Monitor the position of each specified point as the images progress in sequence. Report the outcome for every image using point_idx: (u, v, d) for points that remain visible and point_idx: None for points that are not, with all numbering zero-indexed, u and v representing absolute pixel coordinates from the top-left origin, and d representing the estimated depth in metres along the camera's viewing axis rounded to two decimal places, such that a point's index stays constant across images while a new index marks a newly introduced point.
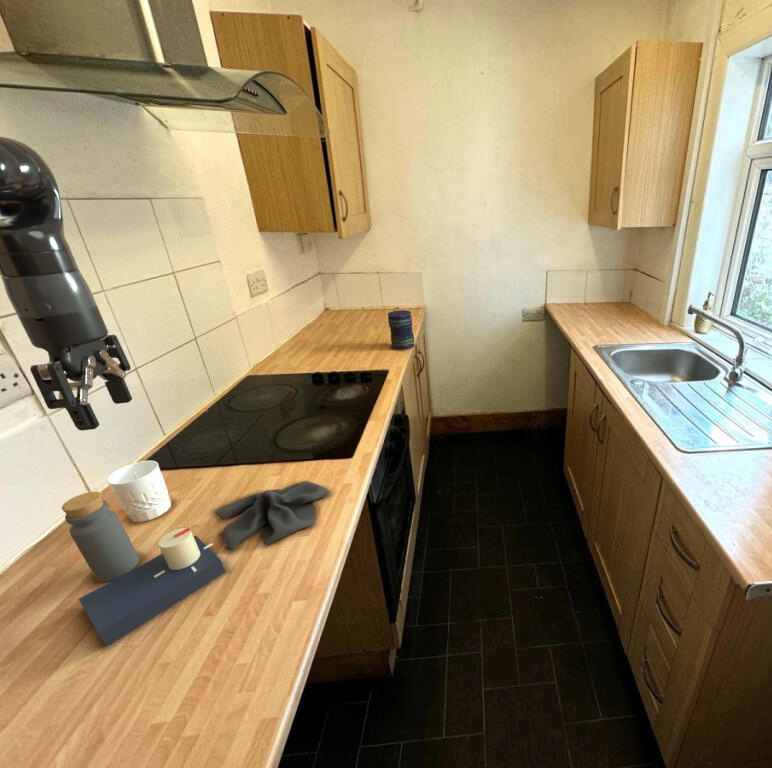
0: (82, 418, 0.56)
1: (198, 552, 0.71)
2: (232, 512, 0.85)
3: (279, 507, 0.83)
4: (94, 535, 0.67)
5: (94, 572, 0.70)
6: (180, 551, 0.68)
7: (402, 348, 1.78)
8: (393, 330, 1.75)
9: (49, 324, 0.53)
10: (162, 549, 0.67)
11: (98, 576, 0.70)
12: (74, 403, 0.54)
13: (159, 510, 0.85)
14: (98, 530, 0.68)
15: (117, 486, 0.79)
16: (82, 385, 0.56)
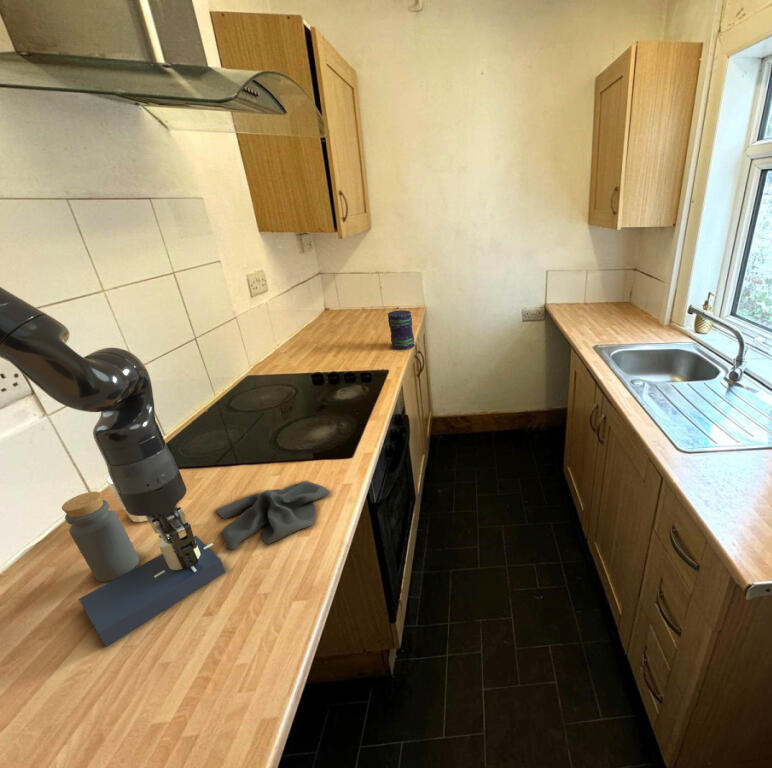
0: (192, 557, 0.69)
1: (198, 552, 0.71)
2: (232, 512, 0.85)
3: (279, 507, 0.83)
4: (94, 535, 0.67)
5: (94, 572, 0.70)
6: None
7: (402, 348, 1.78)
8: (393, 330, 1.75)
9: (165, 490, 0.63)
10: (162, 549, 0.67)
11: (98, 576, 0.70)
12: (196, 544, 0.67)
13: None
14: (98, 530, 0.68)
15: None
16: None
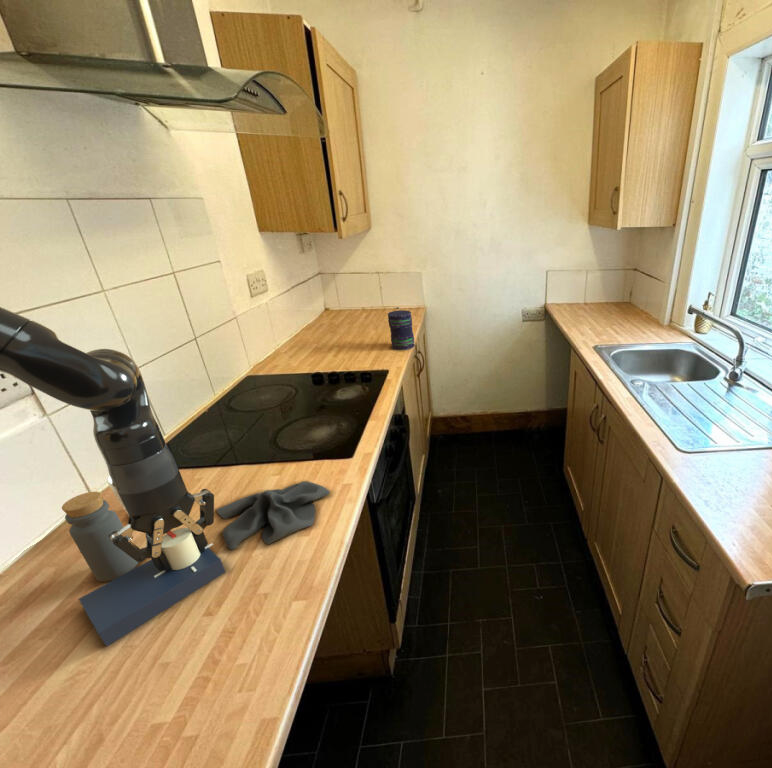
0: None
1: None
2: (232, 512, 0.85)
3: (279, 507, 0.83)
4: (94, 535, 0.67)
5: (94, 572, 0.70)
6: (193, 537, 0.71)
7: (402, 348, 1.78)
8: (393, 330, 1.75)
9: None
10: (186, 542, 0.69)
11: (98, 576, 0.70)
12: None
13: None
14: (98, 530, 0.68)
15: None
16: None
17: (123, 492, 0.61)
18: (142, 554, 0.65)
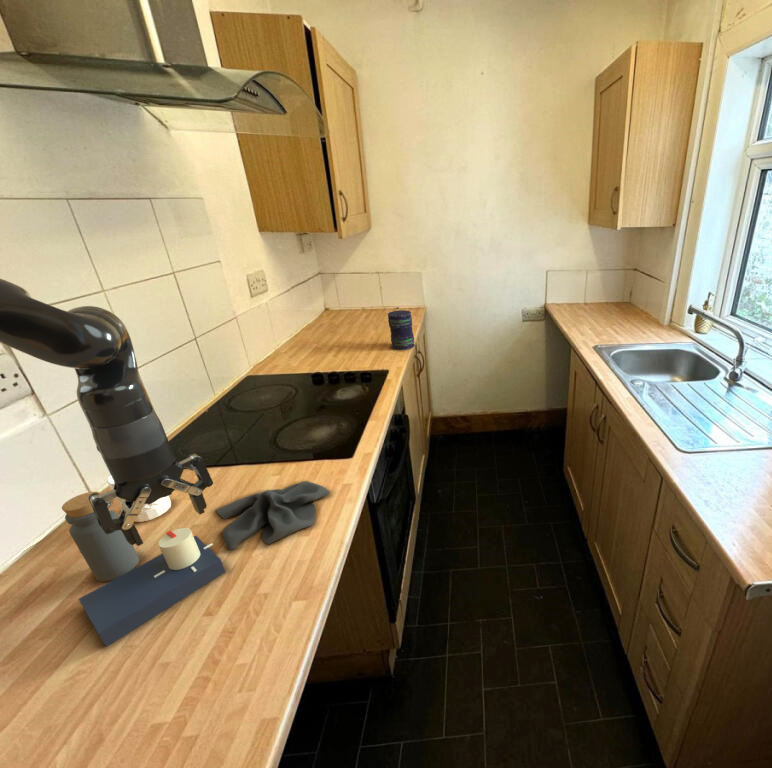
0: None
1: None
2: (232, 512, 0.85)
3: (279, 507, 0.83)
4: (94, 535, 0.67)
5: (94, 572, 0.70)
6: (193, 537, 0.71)
7: (402, 348, 1.78)
8: (393, 330, 1.75)
9: None
10: (186, 542, 0.69)
11: (98, 576, 0.70)
12: None
13: (159, 510, 0.85)
14: (98, 530, 0.68)
15: None
16: None
17: (108, 457, 0.58)
18: (111, 525, 0.61)
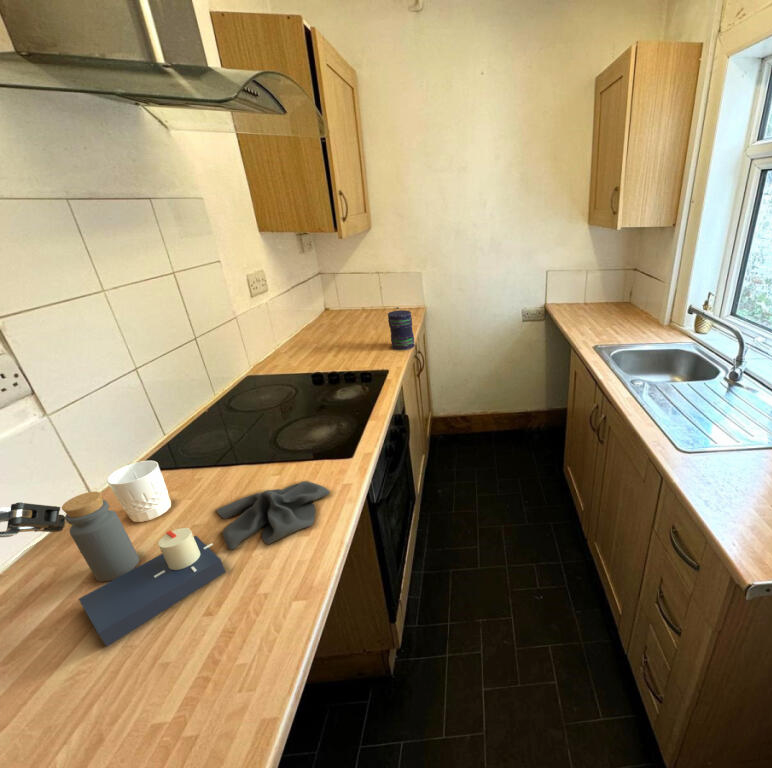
0: (58, 517, 0.56)
1: None
2: (232, 512, 0.85)
3: (279, 507, 0.83)
4: (94, 535, 0.67)
5: (94, 572, 0.70)
6: (193, 537, 0.71)
7: (402, 348, 1.78)
8: (393, 330, 1.75)
9: None
10: (186, 542, 0.69)
11: (98, 576, 0.70)
12: None
13: (159, 510, 0.85)
14: (98, 530, 0.68)
15: (117, 486, 0.79)
16: None
17: None
18: None
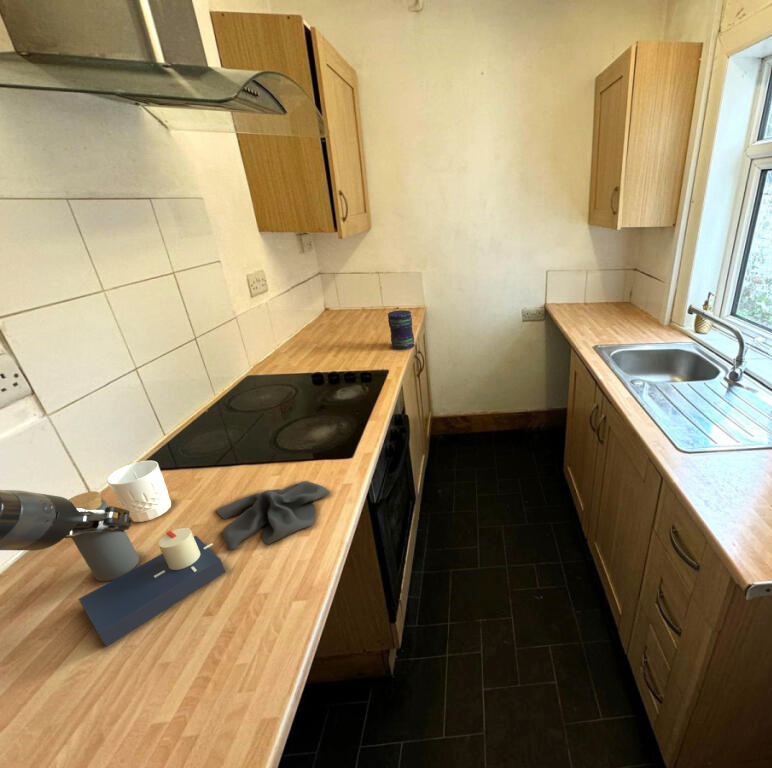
0: None
1: None
2: (232, 512, 0.85)
3: (279, 507, 0.83)
4: (93, 534, 0.67)
5: (94, 572, 0.70)
6: (193, 537, 0.71)
7: (402, 348, 1.78)
8: (393, 330, 1.75)
9: (61, 510, 0.59)
10: (186, 542, 0.69)
11: (98, 576, 0.70)
12: None
13: (159, 510, 0.85)
14: None
15: (117, 486, 0.79)
16: (103, 512, 0.67)
17: None
18: None
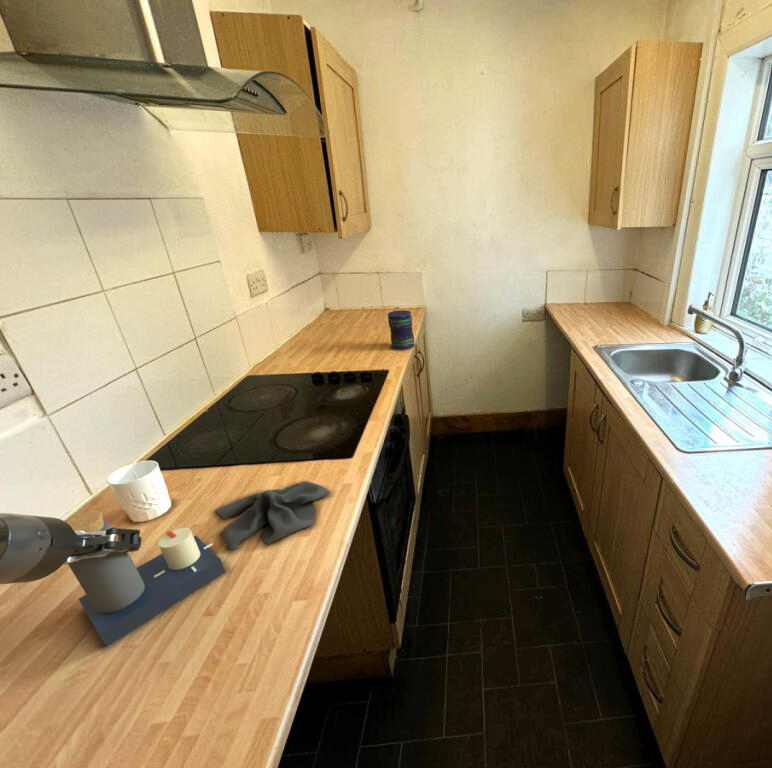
0: None
1: None
2: (232, 512, 0.85)
3: (279, 507, 0.83)
4: (93, 561, 0.58)
5: (94, 603, 0.61)
6: (193, 537, 0.71)
7: (402, 348, 1.78)
8: (393, 330, 1.75)
9: (56, 535, 0.50)
10: (186, 542, 0.69)
11: (98, 607, 0.61)
12: (135, 530, 0.60)
13: (159, 510, 0.85)
14: None
15: (117, 486, 0.79)
16: None
17: None
18: None
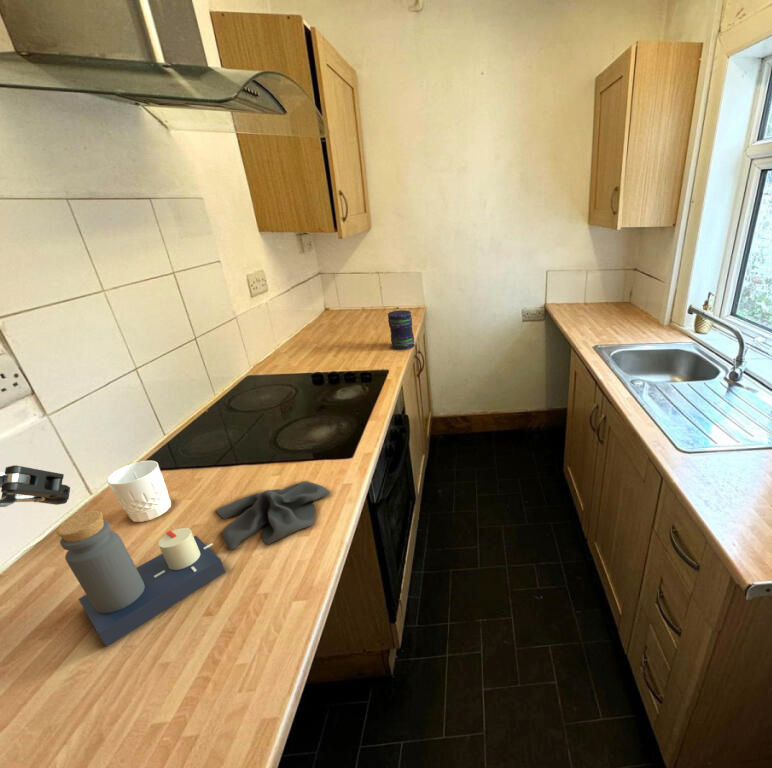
0: (62, 487, 0.49)
1: None
2: (232, 512, 0.85)
3: (279, 507, 0.83)
4: (93, 561, 0.58)
5: (94, 603, 0.61)
6: (193, 537, 0.71)
7: (402, 348, 1.78)
8: (393, 330, 1.75)
9: None
10: (186, 542, 0.69)
11: (98, 607, 0.61)
12: None
13: (159, 510, 0.85)
14: (99, 556, 0.59)
15: (117, 486, 0.79)
16: None
17: None
18: None
